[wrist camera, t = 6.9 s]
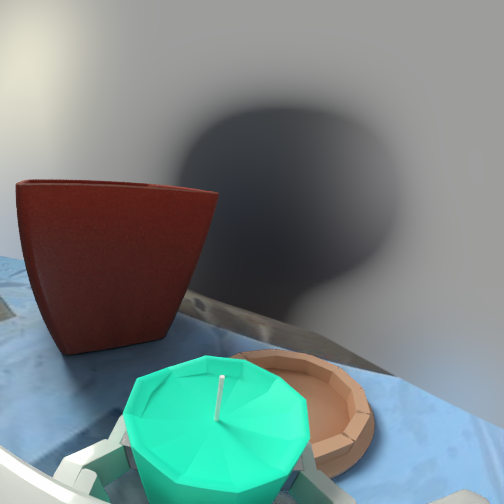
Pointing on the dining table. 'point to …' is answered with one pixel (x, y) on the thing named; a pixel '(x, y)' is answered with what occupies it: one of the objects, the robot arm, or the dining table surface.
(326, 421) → the saucer
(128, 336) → the plant pot
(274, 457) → the candle
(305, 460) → the robot arm
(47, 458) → the dining table surface
